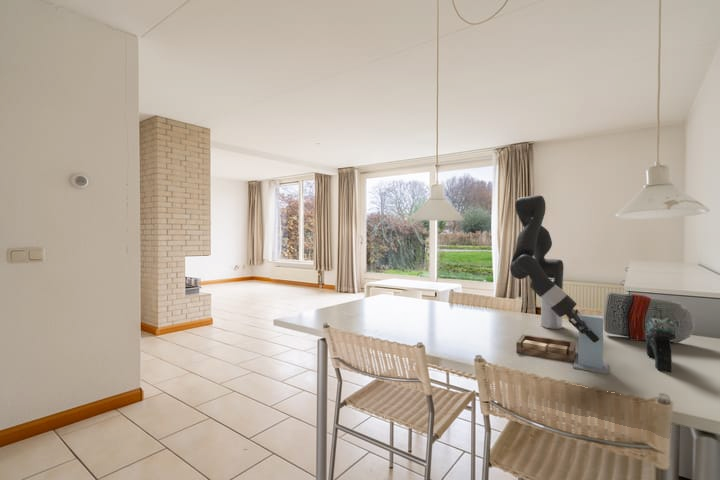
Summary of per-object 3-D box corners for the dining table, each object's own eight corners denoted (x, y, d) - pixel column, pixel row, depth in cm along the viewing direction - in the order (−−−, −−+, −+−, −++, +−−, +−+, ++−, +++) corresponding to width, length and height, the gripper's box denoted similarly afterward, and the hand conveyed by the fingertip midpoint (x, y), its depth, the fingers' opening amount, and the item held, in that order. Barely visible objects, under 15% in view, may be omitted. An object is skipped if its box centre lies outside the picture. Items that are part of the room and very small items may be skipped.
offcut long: (522, 352, 138) (522, 342, 138) (525, 349, 141) (525, 339, 141) (544, 357, 133) (545, 346, 133) (547, 354, 136) (547, 343, 136)
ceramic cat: (676, 375, 115) (677, 313, 115) (651, 371, 118) (652, 311, 118) (661, 356, 132) (662, 303, 132) (639, 353, 135) (640, 301, 135)
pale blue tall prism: (578, 364, 123) (578, 315, 123) (578, 361, 126) (579, 313, 126) (602, 368, 119) (603, 318, 119) (602, 365, 122) (602, 316, 122)
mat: (574, 359, 129) (574, 357, 129) (608, 364, 124) (608, 363, 124) (573, 368, 121) (573, 366, 121) (608, 374, 116) (608, 372, 116)
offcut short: (547, 356, 133) (547, 346, 133) (550, 353, 136) (550, 343, 136) (566, 360, 129) (566, 349, 129) (567, 357, 132) (567, 346, 132)
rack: (516, 352, 137) (516, 342, 137) (522, 343, 148) (522, 334, 148) (573, 362, 127) (573, 351, 127) (575, 352, 137) (575, 341, 137)
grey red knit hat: (608, 292, 155) (699, 304, 141) (606, 290, 161) (693, 301, 147) (603, 335, 156) (692, 351, 142) (601, 331, 162) (687, 346, 148)
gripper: (564, 297, 120) (607, 337, 114) (567, 291, 132) (606, 327, 126) (547, 310, 123) (587, 350, 117) (551, 303, 135) (588, 339, 129)
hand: (597, 338), depth 121 cm, fingers open, 6 cm apart
